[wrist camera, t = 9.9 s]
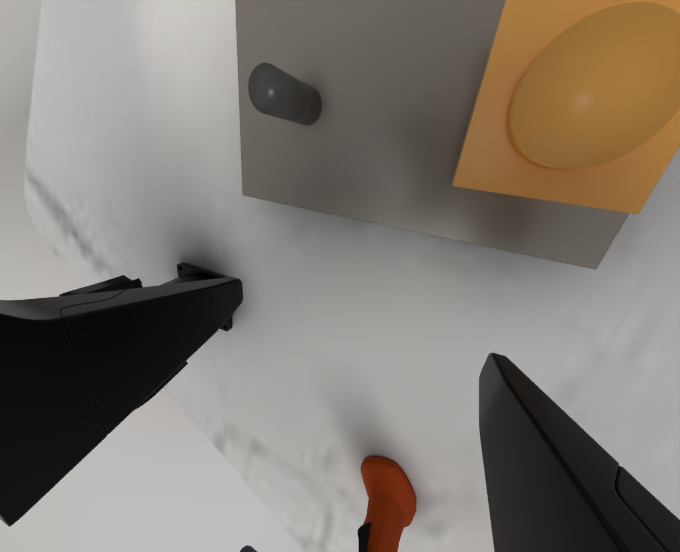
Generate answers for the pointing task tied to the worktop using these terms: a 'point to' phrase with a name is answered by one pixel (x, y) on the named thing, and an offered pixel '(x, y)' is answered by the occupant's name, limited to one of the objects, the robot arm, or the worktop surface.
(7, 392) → the robot arm
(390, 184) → the grey peg board
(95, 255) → the worktop surface
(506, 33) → the orange knobbed cube
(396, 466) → the toy drill
